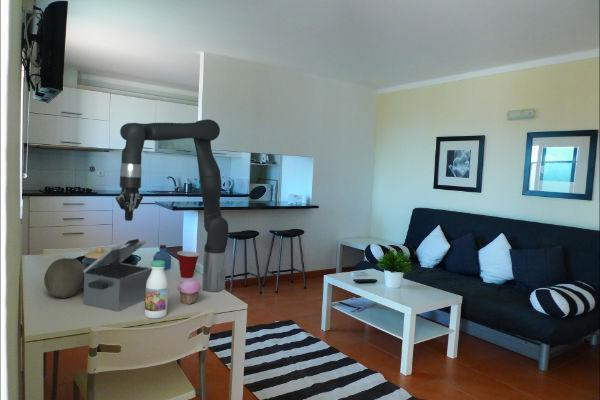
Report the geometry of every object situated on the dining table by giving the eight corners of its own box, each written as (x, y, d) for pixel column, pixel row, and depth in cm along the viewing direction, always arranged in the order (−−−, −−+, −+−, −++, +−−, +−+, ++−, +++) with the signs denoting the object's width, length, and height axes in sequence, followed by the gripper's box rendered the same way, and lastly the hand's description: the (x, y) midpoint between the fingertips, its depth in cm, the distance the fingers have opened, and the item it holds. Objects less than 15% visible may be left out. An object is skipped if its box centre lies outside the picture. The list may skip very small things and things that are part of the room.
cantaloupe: (80, 301, 157) (82, 263, 156) (38, 302, 153) (39, 263, 152) (88, 290, 171) (89, 255, 170) (50, 291, 167) (51, 254, 166)
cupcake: (189, 297, 171) (190, 274, 171) (204, 302, 167) (205, 278, 166) (172, 303, 164) (173, 278, 163) (188, 308, 159) (189, 283, 159)
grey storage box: (151, 297, 169) (152, 268, 168) (112, 314, 148) (113, 281, 147) (119, 290, 173) (120, 262, 172) (76, 306, 152) (77, 274, 151)
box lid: (150, 238, 167) (147, 232, 168) (117, 246, 149) (113, 239, 149) (120, 262, 172) (116, 256, 173) (84, 273, 154) (80, 266, 155)
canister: (119, 288, 176) (121, 248, 175) (87, 294, 167) (89, 251, 165) (107, 281, 185) (108, 242, 184) (76, 286, 176) (77, 245, 174)
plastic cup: (202, 278, 201) (203, 254, 200) (180, 280, 194) (182, 255, 193) (193, 272, 210) (194, 249, 209) (172, 274, 203) (173, 250, 202)
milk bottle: (147, 311, 154) (150, 258, 152) (169, 311, 154) (171, 259, 153) (141, 318, 146) (144, 263, 144) (163, 319, 147) (166, 264, 145)
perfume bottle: (170, 268, 214) (171, 245, 213) (160, 270, 209) (162, 247, 208) (162, 266, 217) (163, 244, 216) (152, 268, 212) (154, 245, 211)
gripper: (126, 176, 150) (124, 223, 151) (150, 176, 162) (148, 219, 164) (110, 174, 152) (108, 221, 153) (134, 174, 165) (132, 217, 166)
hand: (128, 220), depth 159 cm, fingers closed
